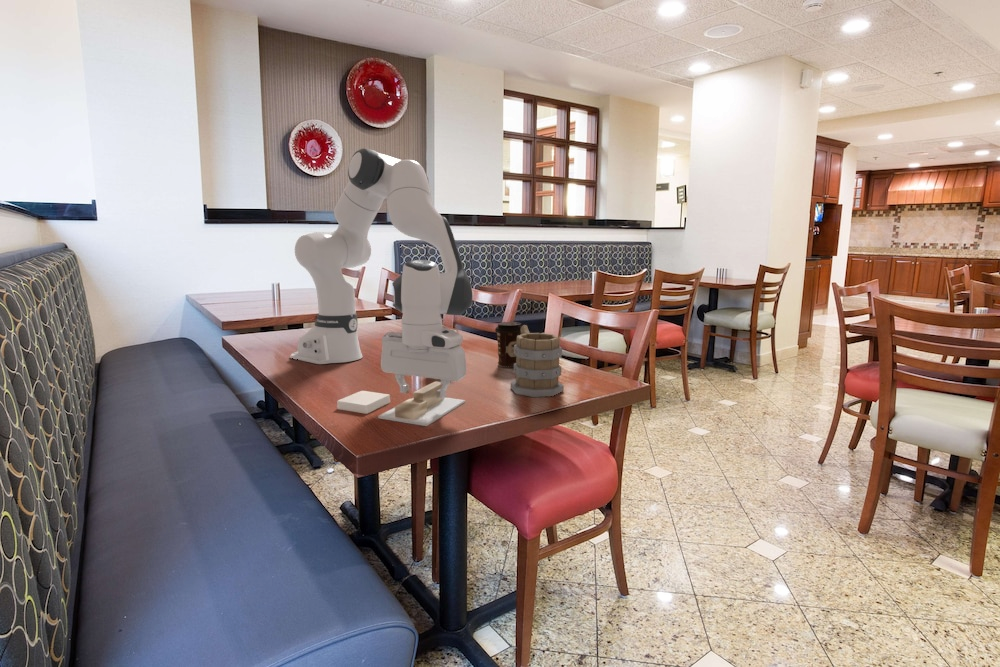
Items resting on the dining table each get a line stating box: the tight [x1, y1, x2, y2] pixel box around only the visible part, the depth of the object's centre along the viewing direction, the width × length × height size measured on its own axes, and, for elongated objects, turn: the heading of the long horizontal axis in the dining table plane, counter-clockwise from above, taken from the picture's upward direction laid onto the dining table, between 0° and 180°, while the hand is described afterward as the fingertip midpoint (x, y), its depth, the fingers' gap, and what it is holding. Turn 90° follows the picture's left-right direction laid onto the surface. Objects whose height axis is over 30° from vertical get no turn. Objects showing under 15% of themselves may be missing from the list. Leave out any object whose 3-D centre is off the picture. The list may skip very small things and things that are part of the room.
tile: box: [336, 390, 391, 415], centre depth 127 cm, size 8×2×9 cm
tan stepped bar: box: [394, 380, 443, 420], centre depth 124 cm, size 4×16×4 cm, turn 158°
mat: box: [377, 396, 466, 427], centre depth 124 cm, size 12×18×1 cm, turn 157°
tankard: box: [510, 324, 565, 398], centre depth 143 cm, size 20×13×15 cm, turn 11°
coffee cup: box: [494, 321, 523, 368], centre depth 165 cm, size 9×8×13 cm
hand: (422, 395), depth 124 cm, fingers open, 8 cm apart
